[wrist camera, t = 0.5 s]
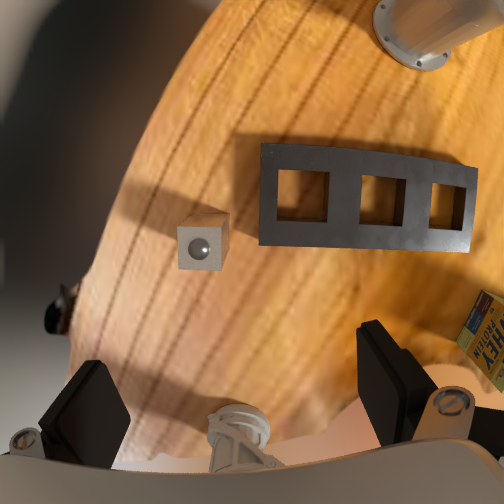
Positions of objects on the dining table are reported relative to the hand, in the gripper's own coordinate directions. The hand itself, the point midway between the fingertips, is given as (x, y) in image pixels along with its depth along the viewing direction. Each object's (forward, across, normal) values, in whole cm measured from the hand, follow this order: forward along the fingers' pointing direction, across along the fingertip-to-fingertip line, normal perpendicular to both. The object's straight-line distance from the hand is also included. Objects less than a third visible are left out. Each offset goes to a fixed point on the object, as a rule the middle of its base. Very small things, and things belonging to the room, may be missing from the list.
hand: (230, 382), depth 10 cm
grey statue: (+32, +6, +33) cm, 46 cm away
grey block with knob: (+31, +4, -1) cm, 31 cm away
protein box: (+31, -41, +24) cm, 56 cm away
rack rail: (+31, -17, -1) cm, 35 cm away
